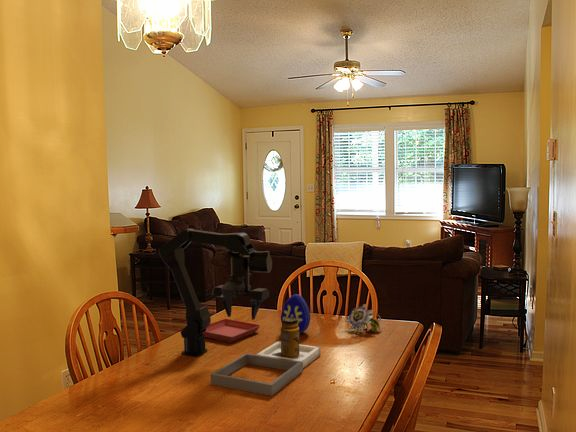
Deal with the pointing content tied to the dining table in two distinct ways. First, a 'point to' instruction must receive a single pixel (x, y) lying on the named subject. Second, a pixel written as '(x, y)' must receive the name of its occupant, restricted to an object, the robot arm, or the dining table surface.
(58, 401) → the dining table surface
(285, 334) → the condiment
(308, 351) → the tray
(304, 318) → the ornament
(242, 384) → the gray square frame
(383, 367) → the dining table surface
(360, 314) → the passion flower
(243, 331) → the plant saucer
